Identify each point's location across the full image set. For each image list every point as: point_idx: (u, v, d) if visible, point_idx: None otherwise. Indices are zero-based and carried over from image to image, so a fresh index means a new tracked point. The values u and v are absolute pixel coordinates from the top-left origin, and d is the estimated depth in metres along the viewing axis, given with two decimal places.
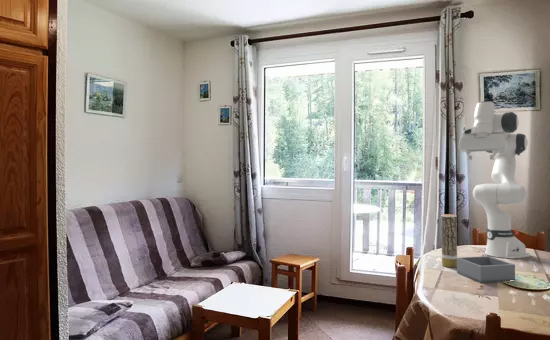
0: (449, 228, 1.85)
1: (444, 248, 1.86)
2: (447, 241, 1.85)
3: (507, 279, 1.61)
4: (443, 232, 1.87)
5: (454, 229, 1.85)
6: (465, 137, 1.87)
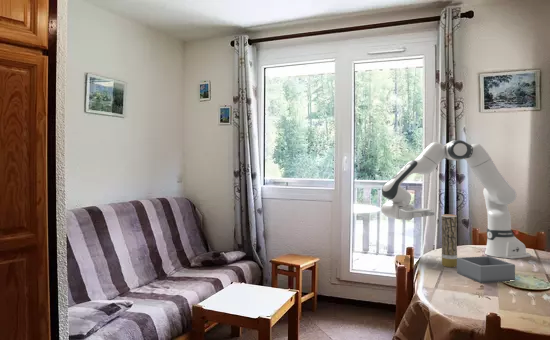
0: (449, 228, 1.85)
1: (444, 248, 1.86)
2: (447, 241, 1.85)
3: (507, 279, 1.61)
4: (443, 232, 1.87)
5: (454, 229, 1.85)
6: (402, 209, 2.04)
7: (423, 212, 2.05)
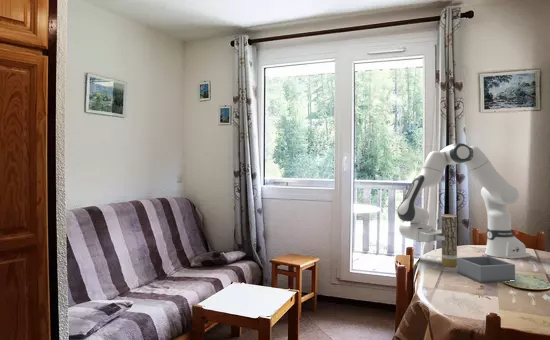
0: (449, 228, 1.85)
1: (444, 248, 1.86)
2: (447, 241, 1.85)
3: (507, 279, 1.61)
4: (443, 232, 1.87)
5: (454, 229, 1.85)
6: (422, 231, 1.93)
7: None
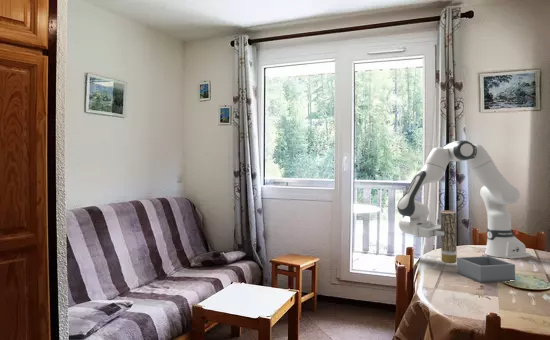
0: (448, 225, 1.85)
1: (443, 244, 1.87)
2: (447, 238, 1.86)
3: (507, 279, 1.61)
4: (442, 228, 1.87)
5: (453, 225, 1.85)
6: (422, 226, 1.93)
7: None
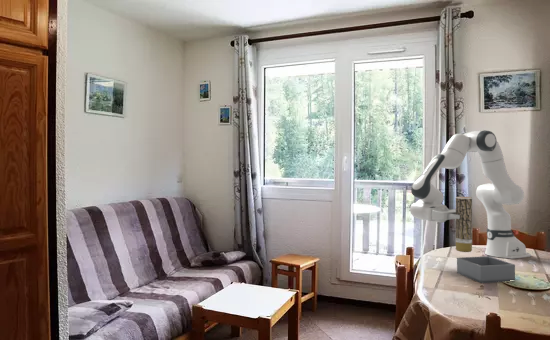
0: (464, 211, 1.74)
1: (458, 232, 1.76)
2: (462, 225, 1.75)
3: (507, 279, 1.61)
4: None
5: (469, 212, 1.74)
6: (435, 209, 1.83)
7: None
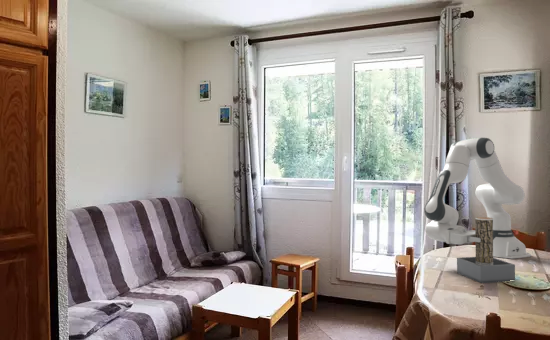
0: (485, 233, 1.65)
1: (479, 255, 1.67)
2: (483, 247, 1.66)
3: (507, 279, 1.61)
4: (478, 237, 1.68)
5: (490, 234, 1.65)
6: (454, 232, 1.74)
7: None
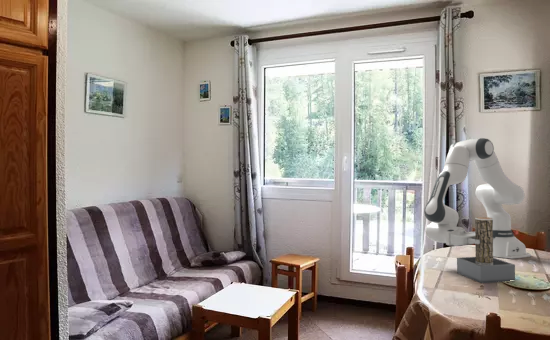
0: (484, 233, 1.65)
1: (479, 255, 1.67)
2: (483, 248, 1.66)
3: (507, 279, 1.61)
4: (477, 237, 1.68)
5: (490, 234, 1.65)
6: (454, 233, 1.74)
7: None
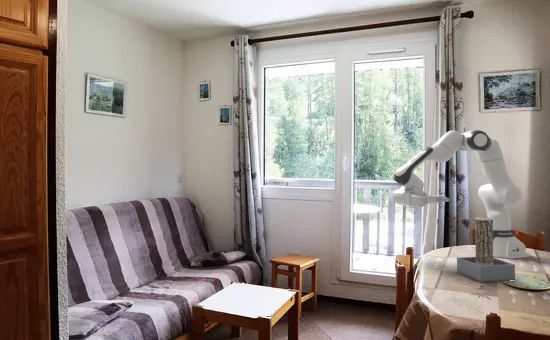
0: (485, 233, 1.65)
1: (479, 255, 1.67)
2: (483, 248, 1.66)
3: (507, 279, 1.61)
4: (478, 237, 1.68)
5: (490, 234, 1.65)
6: (414, 195, 1.97)
7: (436, 198, 1.97)
